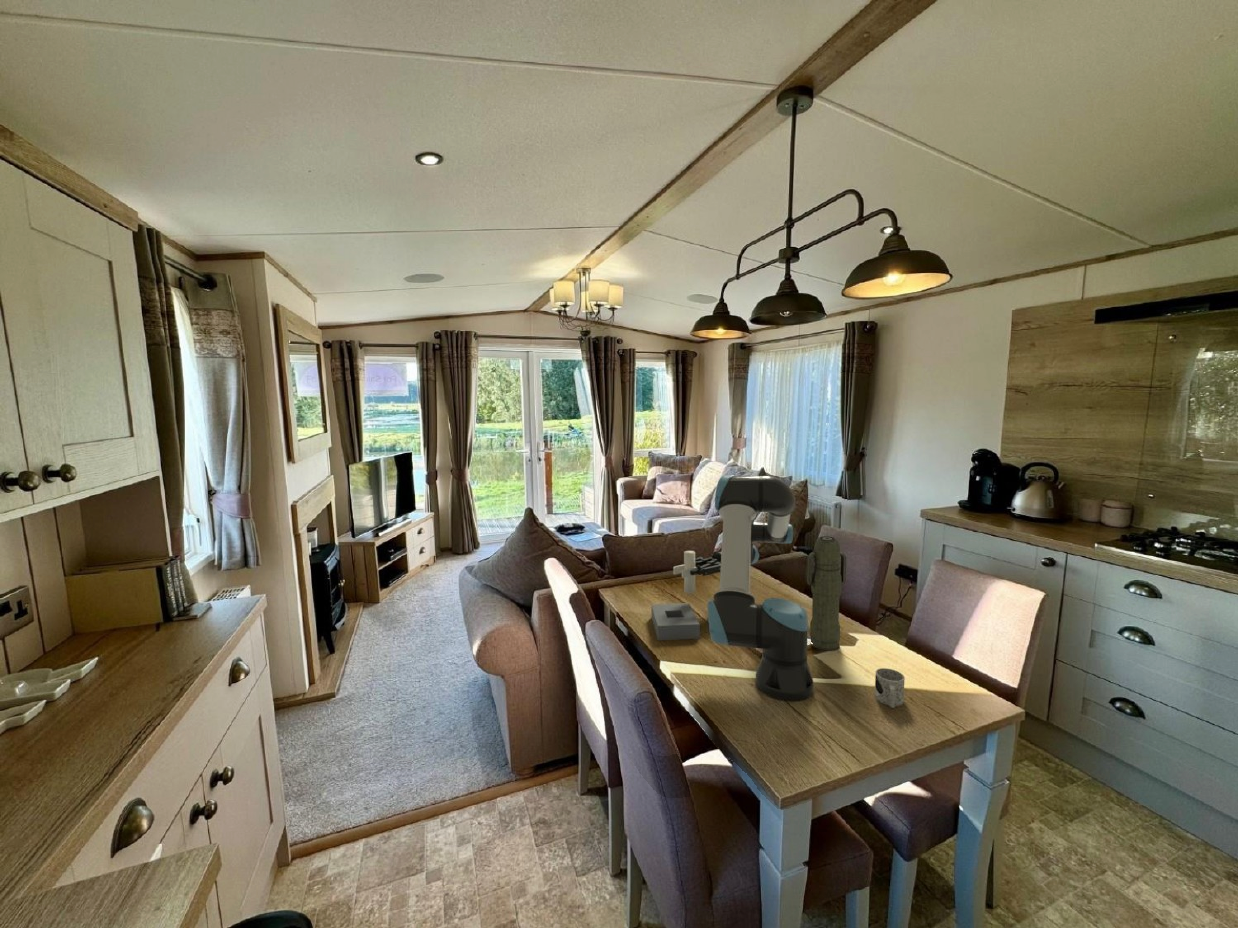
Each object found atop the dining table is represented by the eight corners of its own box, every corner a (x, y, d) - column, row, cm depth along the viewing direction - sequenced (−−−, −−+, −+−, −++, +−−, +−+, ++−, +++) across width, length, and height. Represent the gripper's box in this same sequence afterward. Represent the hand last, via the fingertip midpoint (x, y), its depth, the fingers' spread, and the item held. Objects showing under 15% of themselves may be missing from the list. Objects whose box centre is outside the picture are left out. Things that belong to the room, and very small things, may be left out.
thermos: (850, 648, 157) (853, 540, 153) (815, 652, 155) (818, 543, 151) (833, 636, 166) (836, 533, 162) (800, 639, 164) (802, 535, 160)
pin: (696, 593, 182) (696, 553, 180) (685, 594, 182) (685, 553, 180) (694, 589, 186) (694, 550, 184) (683, 590, 186) (683, 550, 184)
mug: (873, 689, 135) (874, 666, 134) (901, 694, 132) (902, 670, 132) (877, 710, 126) (878, 685, 125) (907, 716, 123) (908, 690, 122)
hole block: (699, 638, 167) (699, 624, 166) (658, 640, 166) (657, 625, 165) (689, 615, 184) (689, 602, 184) (651, 617, 184) (651, 604, 183)
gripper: (741, 575, 186) (693, 589, 173) (710, 564, 200) (663, 576, 187) (741, 556, 185) (693, 568, 172) (710, 546, 199) (663, 556, 186)
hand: (678, 572), depth 180 cm, fingers closed on pin, 4 cm apart
